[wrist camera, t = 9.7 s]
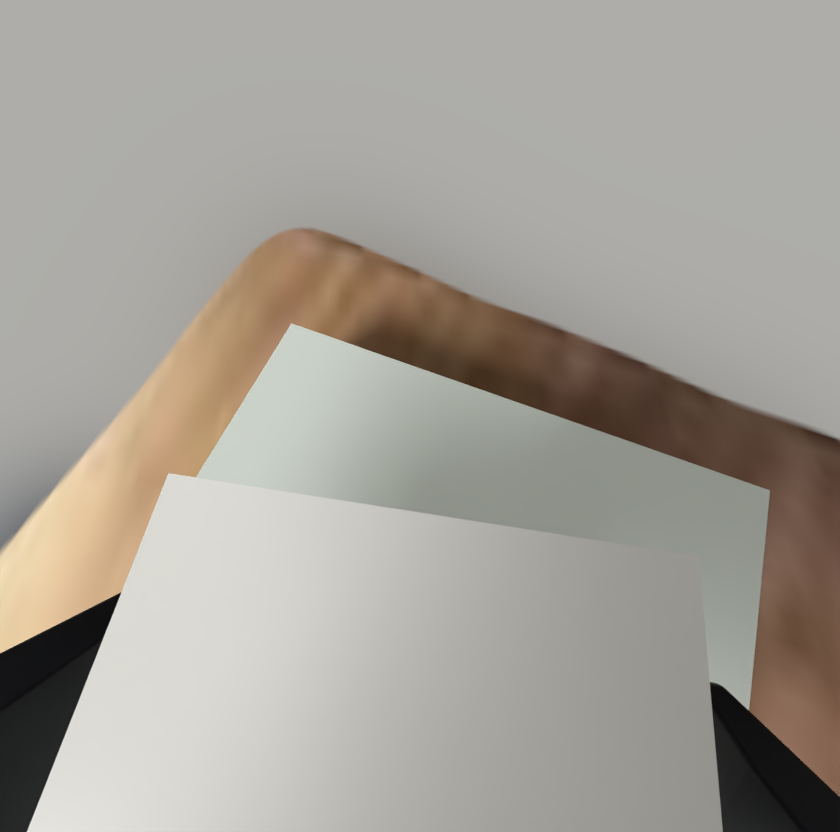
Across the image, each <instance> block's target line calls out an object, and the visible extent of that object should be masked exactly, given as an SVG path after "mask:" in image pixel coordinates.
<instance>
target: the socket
mask: <svg viewBox="0 0 840 832" xmlns="http://www.w3.org/2000/svg"><path fill="white" fill-rule="evenodd" d="M196 478H202V479H208V480H215V481H221V482H227V483H234V484H240V485H247V486H253V487H259V488H266V489H272V490H279V491H285V492H291V493H298V494H304V495H311V496H317V497H323V498H330V499H336V500H343V501H349V502H355V503H362V504H368V505H375V506H381V507H387V508H394V509H400V510H407V511H413V512H419V513H426V514H432V515H439V516H445V517H451V518H458V519H464V520H471V521H477V522H483V523H490V524H496V525H503V526H509V527H515V528H522V529H528V530H535V531H541V532H547V533H554V534H560V535H567V536H573V537H579V538H586V539H592V540H599V541H605V542H611V543H618V544H624V545H631V546H637V547H643V548H650V549H656V550H663V551H669V552H675V553H682V554H688V555H695V556H699V566H700V577H701V588H702V600H703V611H704V623H705V634H706V645H707V657H708V668H709V679H710V682H714V683H717V684H720V685H721V686H723V687H724V688H725V689H726V690H728V691H729V692H730V693H731V694H732V695H733V696H734V697H735V698H736V699H737V700H738V701H739V702H740V703H741V704H742V705H743V706H744V707H745V708H746V709H748V710H749V705H750V695H751V684H752V674H753V664H754V653H755V643H756V632H757V622H758V612H759V601H760V591H761V580H762V570H763V559H764V549H765V539H766V528H767V518H768V507H769V497H770V490H767V489H764V488H762V487H759V486H756V485H753V484H750V483H747V482H744V481H741V480H739V479H736V478H733V477H730V476H727V475H724V474H721V473H719V472H716V471H713V470H710V469H707V468H704V467H701V466H698V465H696V464H693V463H690V462H687V461H684V460H681V459H678V458H676V457H673V456H670V455H667V454H664V453H661V452H658V451H655V450H653V449H650V448H647V447H644V446H641V445H638V444H635V443H633V442H630V441H627V440H624V439H621V438H618V437H615V436H613V435H610V434H607V433H604V432H601V431H598V430H595V429H592V428H590V427H587V426H584V425H581V424H578V423H575V422H572V421H570V420H567V419H564V418H561V417H558V416H555V415H552V414H549V413H547V412H544V411H541V410H538V409H535V408H532V407H529V406H527V405H524V404H521V403H518V402H515V401H512V400H509V399H506V398H504V397H501V396H498V395H495V394H492V393H489V392H486V391H484V390H481V389H478V388H475V387H472V386H469V385H466V384H463V383H461V382H458V381H455V380H452V379H449V378H446V377H443V376H441V375H438V374H435V373H432V372H429V371H426V370H423V369H420V368H418V367H415V366H412V365H409V364H406V363H403V362H400V361H398V360H395V359H392V358H389V357H386V356H383V355H380V354H378V353H375V352H372V351H369V350H366V349H363V348H360V347H357V346H355V345H352V344H349V343H346V342H343V341H340V340H337V339H335V338H332V337H329V336H326V335H323V334H320V333H317V332H314V331H312V330H309V329H306V328H303V327H300V326H297V325H294V324H291V325H290V327H289V328H288V330H287V332H286V333H285V335H284V336H283V338H282V340H281V341H280V343H279V345H278V346H277V348H276V349H275V351H274V353H273V354H272V356H271V357H270V359H269V361H268V362H267V364H266V365H265V367H264V369H263V370H262V372H261V374H260V375H259V377H258V378H257V380H256V382H255V383H254V385H253V386H252V388H251V390H250V391H249V393H248V394H247V396H246V398H245V399H244V401H243V402H242V404H241V406H240V407H239V409H238V411H237V412H236V414H235V415H234V417H233V419H232V420H231V422H230V423H229V425H228V427H227V428H226V430H225V431H224V433H223V435H222V436H221V438H220V440H219V441H218V443H217V444H216V446H215V448H214V449H213V451H212V452H211V454H210V456H209V457H208V459H207V460H206V462H205V464H204V465H203V467H202V469H201V470H200V472H199V473H198V475H197V477H196Z"/></svg>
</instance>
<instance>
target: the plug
mask: <svg viewBox="0 0 840 832" xmlns="http://www.w3.org/2000/svg"><path fill="white" fill-rule="evenodd" d="M27 832H723V828H722V816H721V805H720V793H719V782H718V771H717V759H716V748H715V736H714V725H713V714H712V702H711V691H710V679H709V668H708V657H707V645H706V634H705V623H704V611H703V600H702V588H701V577H700V566H699V556H695V555H688V554H682V553H675V552H669V551H663V550H656V549H650V548H643V547H637V546H631V545H624V544H618V543H611V542H605V541H599V540H592V539H586V538H579V537H573V536H567V535H560V534H554V533H547V532H541V531H535V530H528V529H522V528H515V527H509V526H503V525H496V524H490V523H483V522H477V521H471V520H464V519H458V518H451V517H445V516H439V515H432V514H426V513H419V512H413V511H407V510H400V509H394V508H387V507H381V506H375V505H368V504H362V503H355V502H349V501H343V500H336V499H330V498H323V497H317V496H311V495H304V494H298V493H291V492H285V491H279V490H272V489H266V488H259V487H253V486H247V485H240V484H234V483H227V482H221V481H215V480H208V479H202V478H195V477H189V476H183V475H176V474H170V473H168V476H167V478H166V481H165V484H164V486H163V489H162V491H161V494H160V496H159V499H158V501H157V504H156V506H155V509H154V511H153V514H152V516H151V519H150V521H149V524H148V527H147V529H146V532H145V534H144V537H143V539H142V542H141V544H140V547H139V549H138V552H137V554H136V557H135V559H134V562H133V565H132V567H131V570H130V572H129V575H128V577H127V580H126V582H125V585H124V587H123V590H122V592H121V595H120V597H119V600H118V602H117V605H116V608H115V610H114V613H113V615H112V618H111V620H110V623H109V625H108V628H107V630H106V633H105V635H104V638H103V640H102V643H101V646H100V648H99V651H98V653H97V656H96V658H95V661H94V663H93V666H92V668H91V671H90V673H89V676H88V678H87V681H86V683H85V686H84V689H83V691H82V694H81V696H80V699H79V701H78V704H77V706H76V709H75V711H74V714H73V716H72V719H71V721H70V724H69V727H68V729H67V732H66V734H65V737H64V739H63V742H62V744H61V747H60V749H59V752H58V754H57V757H56V759H55V762H54V765H53V767H52V770H51V772H50V775H49V777H48V780H47V782H46V785H45V787H44V790H43V792H42V795H41V797H40V800H39V802H38V805H37V808H36V810H35V813H34V815H33V818H32V820H31V823H30V825H29V828H28V830H27Z"/></svg>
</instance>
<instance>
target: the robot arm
mask: <svg viewBox="0 0 840 832" xmlns="http://www.w3.org/2000/svg"><path fill="white" fill-rule="evenodd" d="M120 595H121V593H119V594H117V595H115V596H113V597H111V598H109V599H107V600H105V601H103V602H101V603H99V604H97V605H95V606H93V607H91V608H89V609H87V610H85V611H83V612H81V613H79V614H77V615H76V616H74V617H72V618H70V619H68V620H66V621H64V622H62V623H60V624H58V625H56V626H54V627H52V628H50V629H48V630H46V631H44V632H42V633H40V634H38V635H36V636H34V637H32V638H30V639H28V640H26V641H24V642H22V643H20V644H18V645H16V646H14V647H12V648H10V649H8V650H6V651H4V652H2V653H0V832H27V830H28V828H29V825H30V823H31V820H32V818H33V815H34V813H35V810H36V808H37V805H38V802H39V800H40V797H41V795H42V792H43V790H44V787H45V785H46V782H47V780H48V777H49V775H50V772H51V770H52V767H53V765H54V762H55V759H56V757H57V754H58V752H59V749H60V747H61V744H62V742H63V739H64V737H65V734H66V732H67V729H68V727H69V724H70V721H71V719H72V716H73V714H74V711H75V709H76V706H77V704H78V701H79V699H80V696H81V694H82V691H83V689H84V686H85V683H86V681H87V678H88V676H89V673H90V671H91V668H92V666H93V663H94V661H95V658H96V656H97V653H98V651H99V648H100V646H101V643H102V640H103V638H104V635H105V633H106V630H107V628H108V625H109V623H110V620H111V618H112V615H113V613H114V610H115V608H116V605H117V602H118V600H119V597H120ZM710 691H711V702H712V714H713V725H714V736H715V748H716V759H717V771H718V782H719V793H720V805H721V816H722V828H723V832H840V797H839V796H838V795H837V794H836V793H835V792H834V791H833V790H832V789H831V788H830V787H829V786H827V785H826V784H825V783H824V782H823V781H822V780H821V779H820V778H819V777H818V776H817V775H816V774H815V773H814V772H813V771H812V770H811V769H810V768H809V767H807V766H806V765H805V764H804V763H803V762H802V761H801V760H800V759H799V758H798V757H797V756H796V755H795V754H794V753H793V752H792V751H791V750H790V749H789V748H787V747H786V746H785V745H784V744H783V743H782V742H781V741H780V740H779V739H778V738H777V737H776V736H775V735H774V734H773V733H772V732H771V731H770V730H769V729H768V728H766V727H765V726H764V725H763V724H762V723H761V722H760V721H759V720H758V719H757V718H756V717H755V716H754V715H753V714H752V713H751V712H750V711H749V710H748V709H746V708H745V707H744V706H743V705H742V704H741V703H740V702H739V701H738V700H737V699H736V698H735V697H734V696H733V695H732V694H731V693H730V692H729V691H728V690H726V689H725V688H724V687H723V686H721V685H720V684H717V683H714V682H710Z"/></svg>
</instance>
